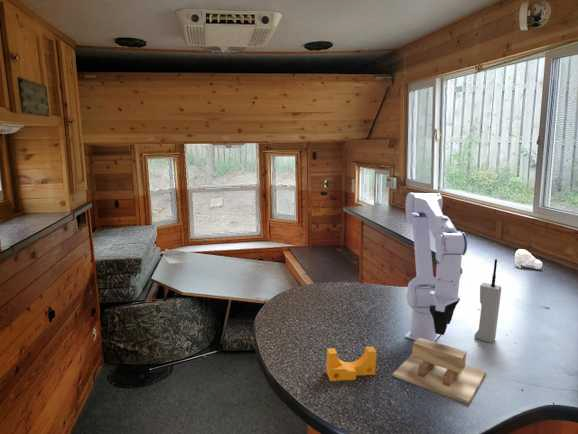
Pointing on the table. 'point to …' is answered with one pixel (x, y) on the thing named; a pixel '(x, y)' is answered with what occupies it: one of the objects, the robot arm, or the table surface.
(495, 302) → the vintage mobile phone
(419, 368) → the rail stand
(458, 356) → the oak beam
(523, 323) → the table surface
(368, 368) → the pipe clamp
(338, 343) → the table surface
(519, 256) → the white rough lump
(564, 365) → the table surface
